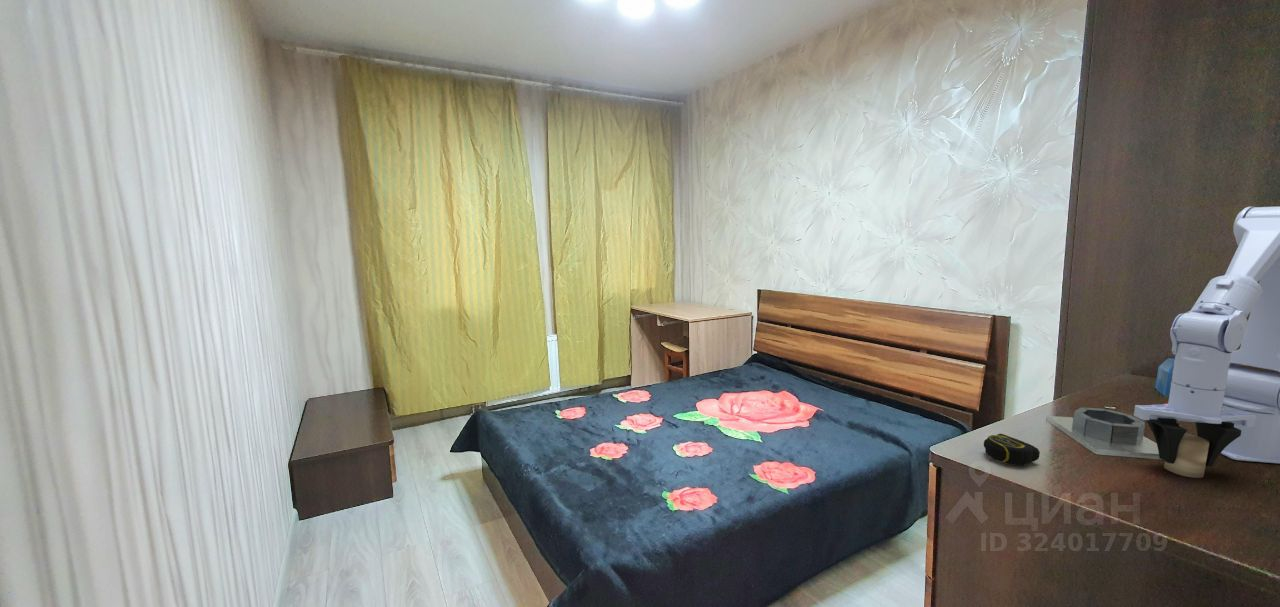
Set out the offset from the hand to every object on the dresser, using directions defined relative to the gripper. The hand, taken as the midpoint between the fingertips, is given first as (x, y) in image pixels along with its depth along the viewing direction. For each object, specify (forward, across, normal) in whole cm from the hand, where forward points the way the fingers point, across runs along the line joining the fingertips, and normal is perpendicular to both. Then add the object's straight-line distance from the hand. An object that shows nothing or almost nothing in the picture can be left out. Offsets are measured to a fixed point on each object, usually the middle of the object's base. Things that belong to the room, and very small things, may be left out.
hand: (1184, 462), depth 79 cm
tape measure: (+2, -26, -1) cm, 26 cm away
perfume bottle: (+2, +28, +43) cm, 51 cm away
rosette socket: (+2, -4, +12) cm, 13 cm away
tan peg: (+2, 0, 0) cm, 2 cm away
